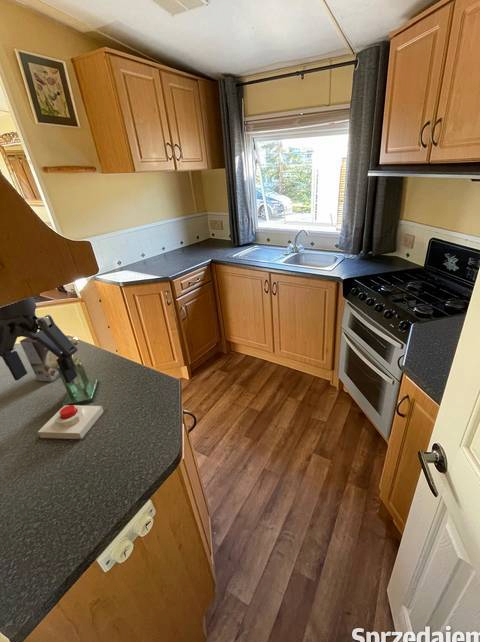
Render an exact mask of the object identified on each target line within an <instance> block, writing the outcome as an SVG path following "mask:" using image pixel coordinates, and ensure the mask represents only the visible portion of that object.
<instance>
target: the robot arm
mask: <svg viewBox="0 0 480 642" xmlns="http://www.w3.org/2000/svg"><path fill="white" fill-rule="evenodd" d="M36 309H37V303H36V300H35V299H34V296H33V297H31V298H28V299H25V300H22V301H19V302H17V303H14V304H11V305H8V306H5V307H2V308H0V358H2V360H3V362H4V364H5V365H6V367H7V368H8V369H9V372H10V373H11V375H12V377H13V380H14V381H19V380H21V379H22V378H24V377H25V376H26V375H27V374H28V371H27V369H26V367H25V365H24V362H23V360H22V359H21V357H20V355H19V353H18V351H17V350H15V345H16V342H17V340H18V338H20V337H22V338H27V337H29V338H30V339H32V340H36V341H38V342H39V343H40V344H42V345H43V346H44V347H45V348H47V349H48V350H49V351H51V352H52V353H53V354H54V355H56V356H57V357H58V359H57V363H58V365H59V367H60V370H61V372H62V374H63V377H64V379H65V381H66V383H70V382H71V381H72V380H73V381H74V380H75V379H76V378H77V373H76V371H75V368H74V366H75V364H74V362H73V359H72V357H71V355H73V354H74V355H75V353H76V352H78V349H79V348H77V346H75V345H74V344H73V343H72V342H71V341H70V340H69V339H68V336H67V335H66V334H65V333H64V332H63V331H62V329H60V327H58V325H57V324H56V323H55V321H54V319H53V317H52V316H51V315H50V314H46V315H45V316H43V317H41V316H40V317H39V316H38V315H37V314H36ZM37 332H38V333H37ZM35 333H36V334H35ZM61 352H62V353H61Z"/></svg>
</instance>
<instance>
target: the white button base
mask: <svg viewBox="0 0 480 642" xmlns="http://www.w3.org/2000/svg"><path fill="white" fill-rule="evenodd" d="M67 406H70V405H64V406H62V407H61V408H60V409H59V410H58V411H57V412H56V413H55V414H54V415H53V416H52V417H51V418H50V419H49V420H48V421H47V422H46V423H45V424H44V425H43V426H42V427H41V428H40V429H39V430H38V431H37V433H38V436H39V437H40V438H41V439H69V440H82V439H84V437H85V436H86V434H87V433H88V432H89V431H90V430H91V428H92V427H93V426H94V425H95V423H96V422H97V421H98V420H99V418H100V417H101V416H102V415H103V413H104V412H105V411H104V408H103V406H102V405H81V404H80V405H73V406H75V409H76V411H77V413H76V414H75V415H74V416H73V417H71V418H68V419H62V417H61V415H60V411H61V410H62V409H63V408H64V407H67Z"/></svg>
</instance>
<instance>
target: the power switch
mask: <svg viewBox="0 0 480 642" xmlns="http://www.w3.org/2000/svg"><path fill="white" fill-rule="evenodd" d="M74 364H75V366H74V368H75V371H76V373H77V377H76V378H77V380H78V383H75V381H74V379H73V380H72V381H71V382H70V383H66V381H65V379H64V377H63V374H62V372H61V370H60V367H59V365H58V367H57V370H58V372H59V374H60V376H59V377H60V378H61V381H62V383H63V386H64V388H65V389H66V392H67V394H66V395H65V397H64V400H63V402H62V407H63V406H64V405H80V406H81V405H85V404H88V403H92V402H93V401H94V399H95V395H96V391H97V389H98V386H99V380H98V379H92V380H89V378H88V376H87V372H86V370H85V368H84V365H83V363H82V361H81V358H80V357H79V356H76V357H74Z"/></svg>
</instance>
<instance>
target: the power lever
mask: <svg viewBox="0 0 480 642" xmlns="http://www.w3.org/2000/svg"><path fill="white" fill-rule="evenodd" d="M67 338H68V337H67ZM68 339H69V340H70V341H71V342H72V343H73V344H74V345H75V347H77V346H78V345H79V343H80V341H79V340H80V339H79V338H78V337H77V336H69V338H68ZM71 357H72V359H73V362H74V360H75V353H74V354H73V355H71Z"/></svg>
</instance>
